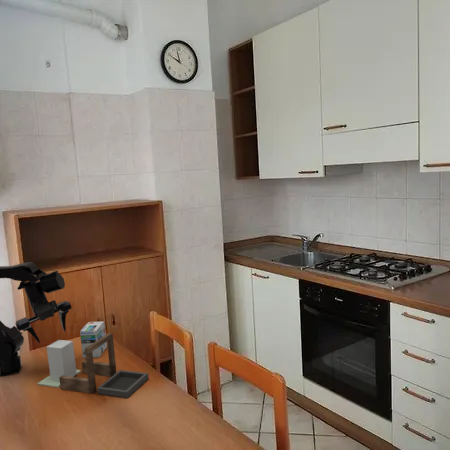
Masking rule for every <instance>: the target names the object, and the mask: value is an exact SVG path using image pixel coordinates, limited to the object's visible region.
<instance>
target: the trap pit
mask: <svg viewBox="0 0 450 450" xmlns="http://www.w3.org/2000/svg"><path fill="white" fill-rule="evenodd" d="M116 372H117V373H116V374H114V375H113V376H112V377H109V378H108V379H107V380H105V381H104V382H103V383H102V384H100V385H99V386H98V387H96V393H97V395H99V396H100V395H101V396H107V397H108V396H109V397H115V398H122V399H123V398H124V399H129V398H130V397H131V396H132V395H133V394H134V393H135V392H136V391H137V390H139V388H141V387H142V386H143V385H144V384H145V383H146V382H147V381H148V380H149V379H150V377H149V373H147V372H140V371H133V370H132V371H131V370H124V369H123V370H122V369H119V370H118V371H116Z"/></svg>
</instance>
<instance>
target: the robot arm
mask: <svg viewBox="0 0 450 450" xmlns="http://www.w3.org/2000/svg"><path fill="white" fill-rule="evenodd" d="M0 279H10V280H13V281H17V282H19V285H18V287H17V290H18V291H19V290H23V289H24V291H25V294H26V297H27V299H28V302H29V305H30V307H31V309H32V312H33V313H32V314H33V315H34V316H31V317H29V318H27V317H26V316H25V317H22V318H20V319H18V320H16V321H15V325H13V326H12V327H9V326H7V325H5V324H4V323H3V322H2V321H1V320H0V377H5V376H9V375H14V374H19V373H20V372H21V370H22V366H23V365H22V359H21V355H19V351H20V349H21V347H22V346H23V345H24V343H25V337H24V336H23V335H22V334H23V332H28V333H30V334H31V336H32V337H33V338H34V339H35V340H36V342H37V343H39V344H41V341H40V338H39V337H38V335H37V333H36V331H35V330H34V328H33V326H32V325H31V324H32V323H35V322H37V321H39V320H40V321H43V322H44V321H45V320H47V319H49V318H52V317H54V316H55V314H56V313H58V318H59V321H60V325H61V328H62V330H63V332H66V318H67V314H68V313H70V310H71V309H73V307H72V305H71V302H70V301H67V300H63V301H61V302H59V303H58V302H57V301H56V300H54V299H53V300H52V301H49V300H48V298H47V295H46V293H47V294H50V293H53V292H57V291H61V290H64V289H65V287H66V285H65V284H66V283H65V278H64V277H63V276H62V274H60V273H59V271H58V270H54V271H52V272H50V273H47V272H45V271H44V270H42V269H40V268H39V267H38V266H37V264H35V262H33V261H32V262H31V261H28V262H27V261H26V262H22V263H17V264H14V265H7V266H6V265H3V266H2V265H1V266H0ZM21 331H23V332H21Z"/></svg>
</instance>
